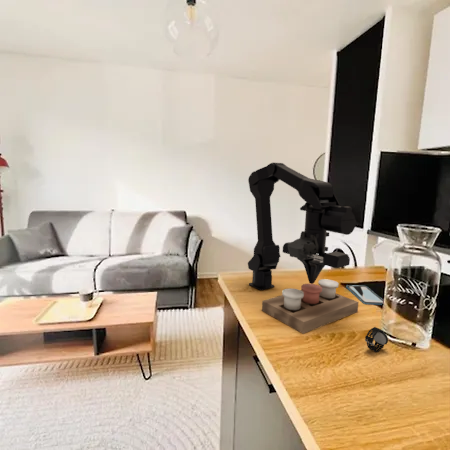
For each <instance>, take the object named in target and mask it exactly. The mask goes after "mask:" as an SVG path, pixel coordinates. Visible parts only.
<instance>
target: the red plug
mask: <svg viewBox="0 0 450 450" xmlns="http://www.w3.org/2000/svg"><path fill="white" fill-rule="evenodd" d="M300 290H302V291H303V292H304V297H303V301H304V302H306V303H310V304H316V303H319V293H321V292H322V287H321V286H320V285H319V284H316V283H313V284H311V283H303V284H301V287H300Z"/></svg>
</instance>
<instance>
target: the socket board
mask: <svg viewBox="0 0 450 450" xmlns="http://www.w3.org/2000/svg"><path fill="white" fill-rule="evenodd" d="M300 290H301V289H300ZM301 291H302V290H301ZM302 292H303V291H302ZM358 310H359V301H358V300H354V299H352V298H349V297H346V296H344V295H341V294H338V293H336V294H335V298H325V297H322V296H320V293H319V303H316V304H310V303H306V302H304V301H303V298H301V308H300V309H298V310H290V309H287V308H285V307H284V296H283V295H282V294H280V295H278V296H273V297H270V298H267V299H263V300H262V302H261V311H262V312H263V313H265V314H268V316H271V317H273V318H274V319H276V320H278V321H280V322H282V323H283V324H285V325H287V326H288V327H290V328H292V329H293V330H295V331H297V332H300V333H301V334H303V335H304V334H306V333H309V332H311V331H313V330H316V329H319V328H321V327H323V326H325V325H328V324H331V323H333V322H336V321H338V320H341V319H343V318H346V317H348V316H351V315H353V314H355V313H358Z"/></svg>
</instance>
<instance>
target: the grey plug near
mask: <svg viewBox="0 0 450 450" xmlns="http://www.w3.org/2000/svg"><path fill="white" fill-rule="evenodd" d="M281 295H283V296H284V307H285V308H287V309H290V310H298V309H300V308H301V298H303V297H304V292H302V291H301V289H299V288H298V289H297V288H285V289H283V290H282V292H281Z"/></svg>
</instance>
